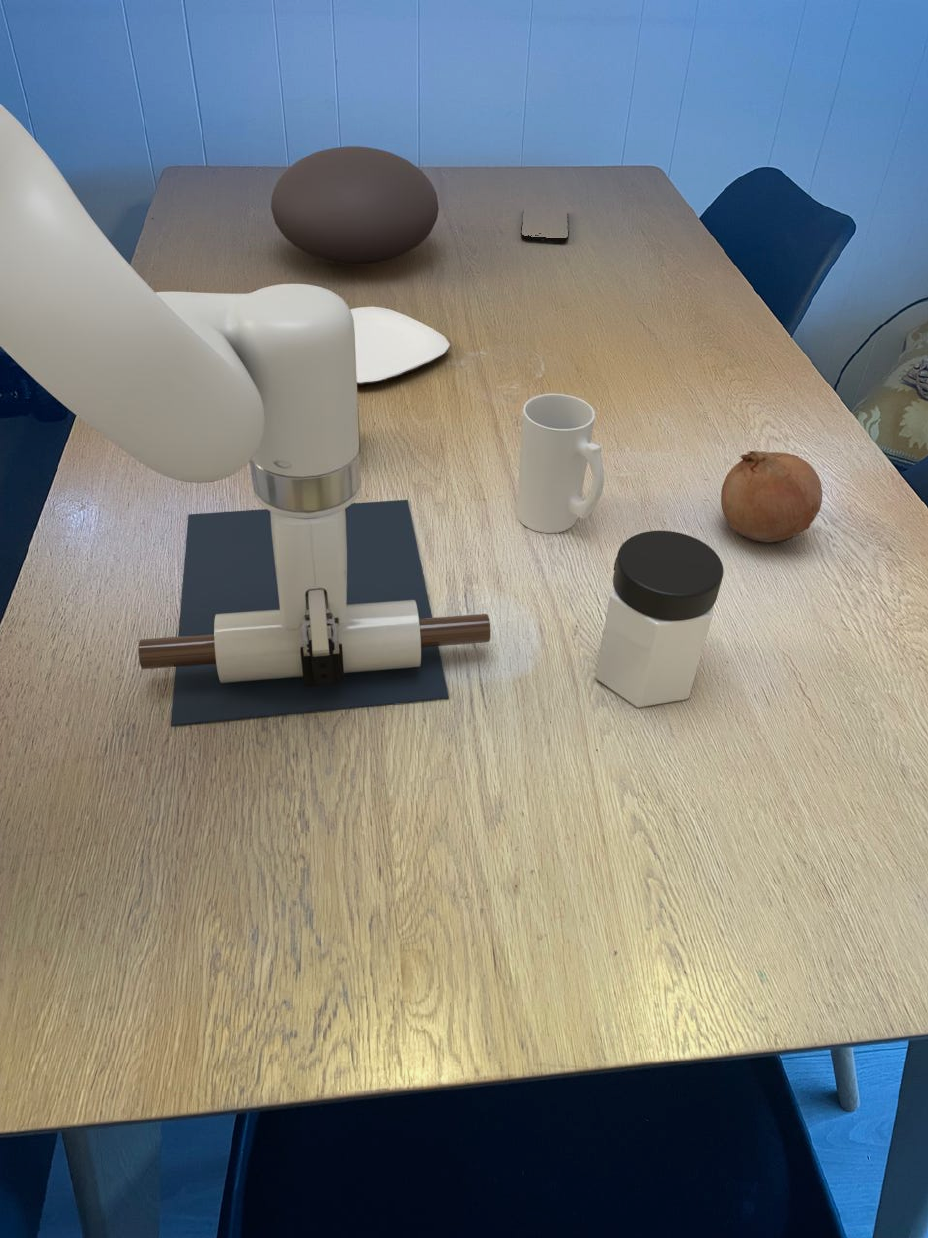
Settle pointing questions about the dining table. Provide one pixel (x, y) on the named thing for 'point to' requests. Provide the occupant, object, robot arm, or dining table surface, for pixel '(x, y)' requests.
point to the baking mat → (246, 581)
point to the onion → (771, 496)
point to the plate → (392, 344)
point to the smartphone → (544, 239)
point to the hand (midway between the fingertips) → (322, 653)
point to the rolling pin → (272, 652)
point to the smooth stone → (354, 205)
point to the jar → (658, 616)
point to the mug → (557, 463)
